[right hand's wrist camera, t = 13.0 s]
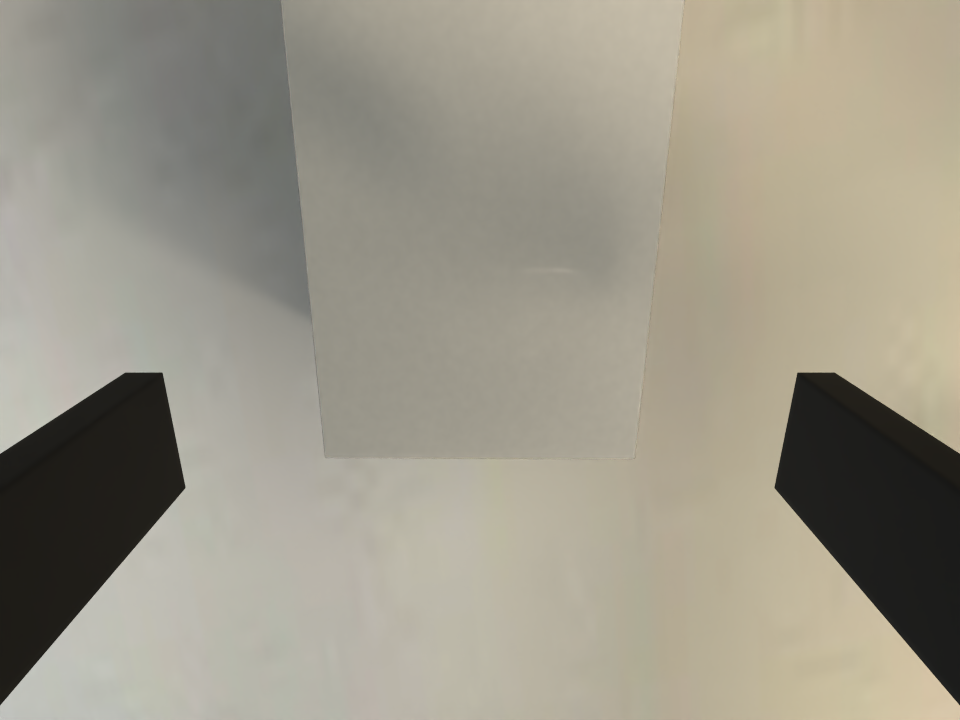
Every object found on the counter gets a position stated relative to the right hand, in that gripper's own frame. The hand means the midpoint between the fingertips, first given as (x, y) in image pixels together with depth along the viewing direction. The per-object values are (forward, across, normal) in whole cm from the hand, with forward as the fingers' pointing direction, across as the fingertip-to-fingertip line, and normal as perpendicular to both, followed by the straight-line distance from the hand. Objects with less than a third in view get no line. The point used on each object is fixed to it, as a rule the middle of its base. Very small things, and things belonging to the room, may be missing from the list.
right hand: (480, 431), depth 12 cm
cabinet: (+17, 0, -6) cm, 18 cm away
